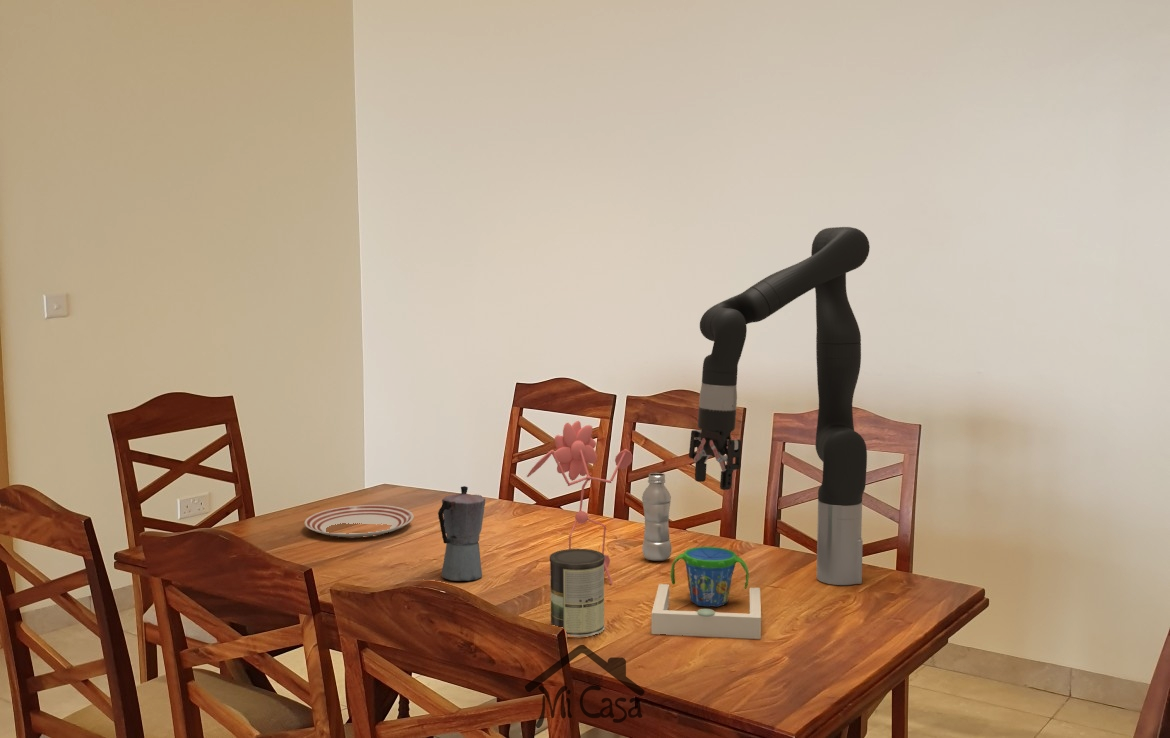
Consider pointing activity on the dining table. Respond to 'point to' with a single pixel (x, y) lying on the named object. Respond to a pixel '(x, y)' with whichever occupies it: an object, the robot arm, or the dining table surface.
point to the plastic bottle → (656, 519)
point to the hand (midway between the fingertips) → (712, 485)
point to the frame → (705, 619)
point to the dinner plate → (359, 518)
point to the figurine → (580, 466)
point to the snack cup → (709, 574)
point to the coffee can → (577, 591)
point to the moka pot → (461, 535)
